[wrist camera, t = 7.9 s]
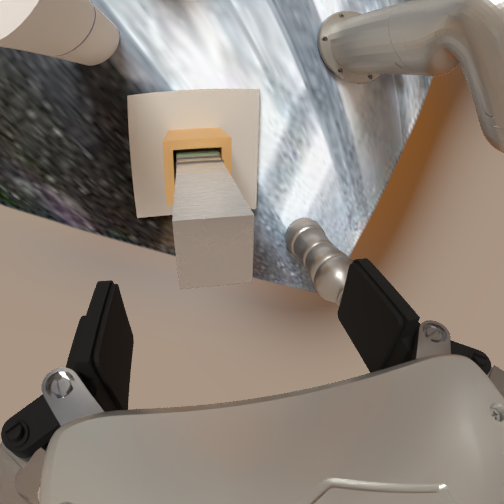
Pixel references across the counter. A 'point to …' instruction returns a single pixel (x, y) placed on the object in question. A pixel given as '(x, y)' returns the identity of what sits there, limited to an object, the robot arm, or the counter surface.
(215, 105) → the stand base
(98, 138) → the counter surface
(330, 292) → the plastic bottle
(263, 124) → the counter surface
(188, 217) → the steel column
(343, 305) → the robot arm
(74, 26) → the cylindrical container
